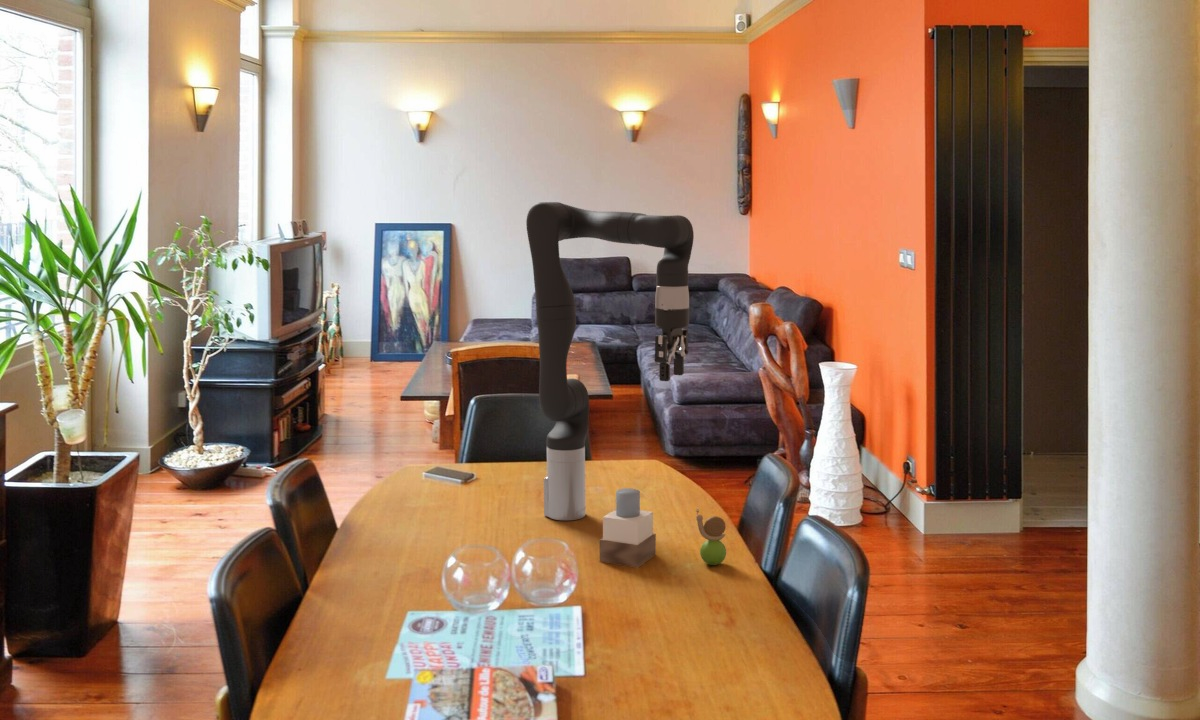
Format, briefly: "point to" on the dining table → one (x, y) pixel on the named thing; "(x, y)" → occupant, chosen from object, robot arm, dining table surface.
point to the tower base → (627, 552)
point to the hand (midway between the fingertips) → (671, 377)
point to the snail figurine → (712, 539)
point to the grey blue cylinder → (627, 503)
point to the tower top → (628, 527)
